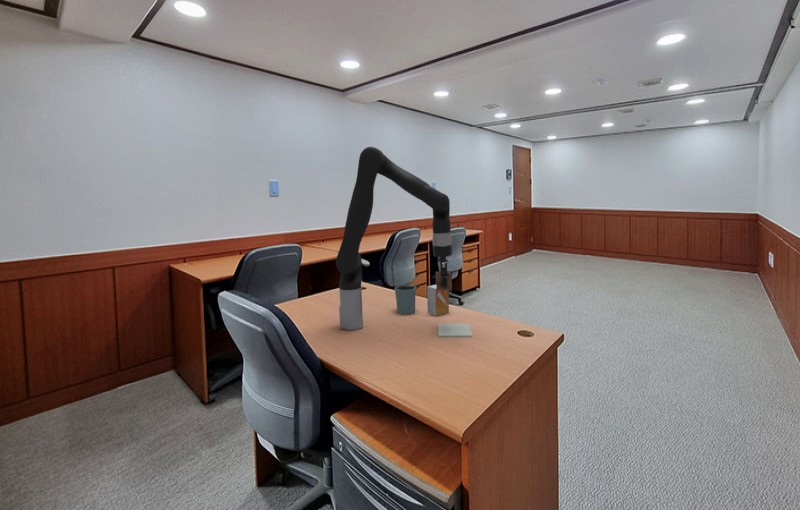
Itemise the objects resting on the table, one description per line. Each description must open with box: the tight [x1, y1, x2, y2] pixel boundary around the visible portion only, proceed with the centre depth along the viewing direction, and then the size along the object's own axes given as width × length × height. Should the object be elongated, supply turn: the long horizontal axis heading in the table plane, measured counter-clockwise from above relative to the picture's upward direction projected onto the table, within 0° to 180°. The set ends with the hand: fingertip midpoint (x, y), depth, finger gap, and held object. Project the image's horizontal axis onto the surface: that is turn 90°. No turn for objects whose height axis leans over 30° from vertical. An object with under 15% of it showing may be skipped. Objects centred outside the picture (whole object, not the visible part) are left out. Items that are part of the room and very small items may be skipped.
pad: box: [437, 323, 473, 338], centre depth 154 cm, size 13×13×1 cm
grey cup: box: [394, 284, 417, 316], centre depth 179 cm, size 10×10×12 cm
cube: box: [435, 270, 453, 290], centre depth 153 cm, size 6×6×6 cm
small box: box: [426, 284, 450, 317], centre depth 176 cm, size 8×6×13 cm
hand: (443, 284), depth 153 cm, fingers closed on cube, 6 cm apart
